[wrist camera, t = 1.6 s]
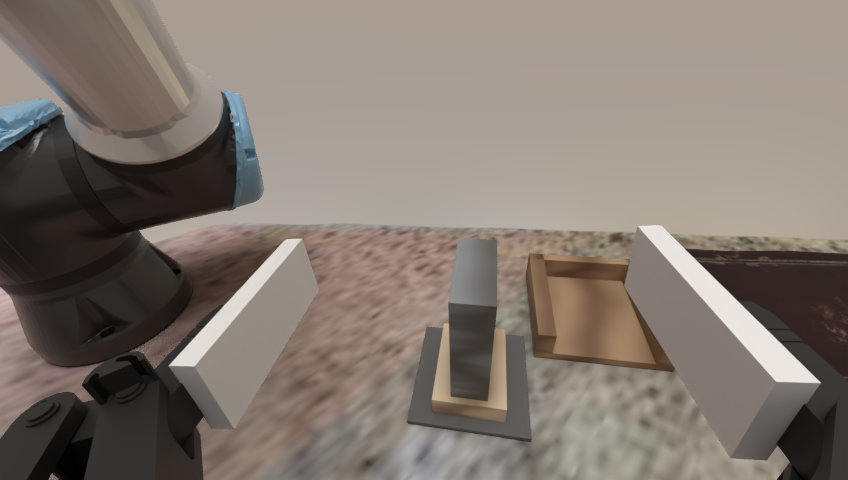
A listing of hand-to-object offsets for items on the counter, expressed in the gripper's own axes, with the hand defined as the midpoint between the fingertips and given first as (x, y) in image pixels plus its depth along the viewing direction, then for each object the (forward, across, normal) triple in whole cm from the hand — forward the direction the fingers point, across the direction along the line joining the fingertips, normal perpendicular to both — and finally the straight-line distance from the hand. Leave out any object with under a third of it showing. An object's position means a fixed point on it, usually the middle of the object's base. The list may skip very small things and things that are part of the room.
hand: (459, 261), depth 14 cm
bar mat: (+10, 0, -20) cm, 22 cm away
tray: (+18, +12, -19) cm, 29 cm away
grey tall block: (+10, 0, -19) cm, 21 cm away
